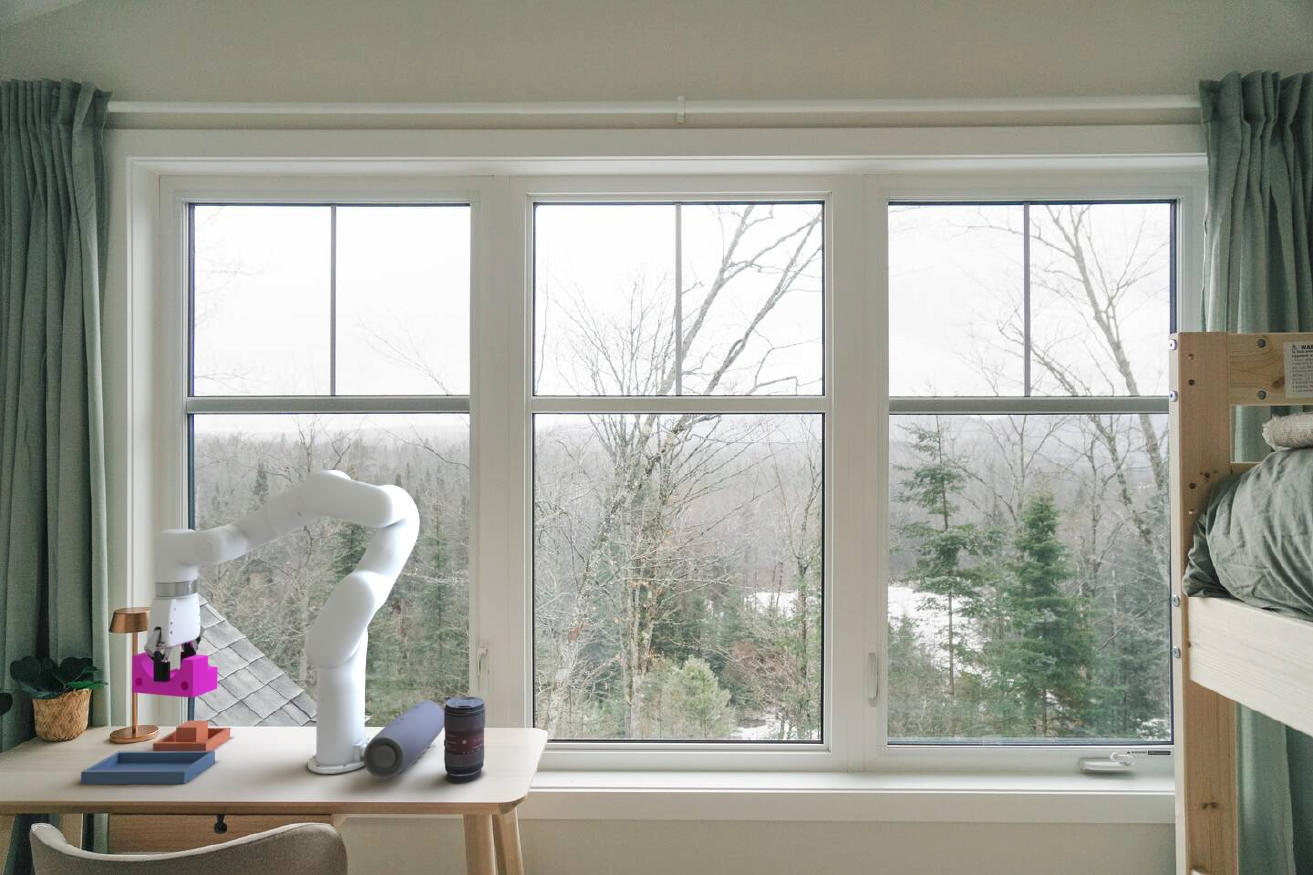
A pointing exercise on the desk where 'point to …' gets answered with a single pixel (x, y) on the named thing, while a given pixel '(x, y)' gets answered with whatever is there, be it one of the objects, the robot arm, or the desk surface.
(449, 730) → the camera lens
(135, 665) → the toy block
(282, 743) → the desk surface
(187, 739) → the terracotta cube
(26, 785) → the desk surface
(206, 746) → the terracotta tray
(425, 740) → the bluetooth speaker
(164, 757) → the blue tray
